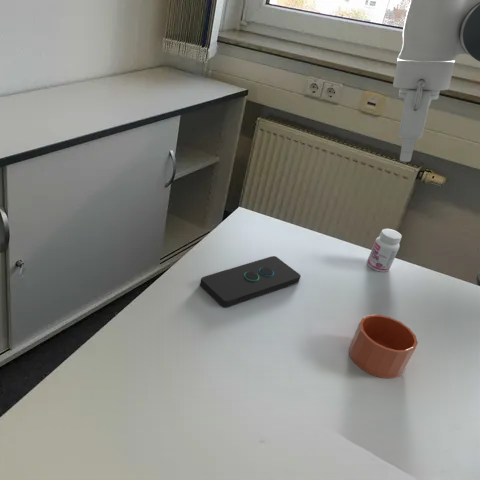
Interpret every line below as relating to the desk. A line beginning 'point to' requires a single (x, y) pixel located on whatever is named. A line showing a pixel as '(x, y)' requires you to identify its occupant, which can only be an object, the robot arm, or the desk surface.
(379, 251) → the pill bottle
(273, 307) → the desk surface
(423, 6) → the robot arm
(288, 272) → the smart home device
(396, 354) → the terracotta cup
